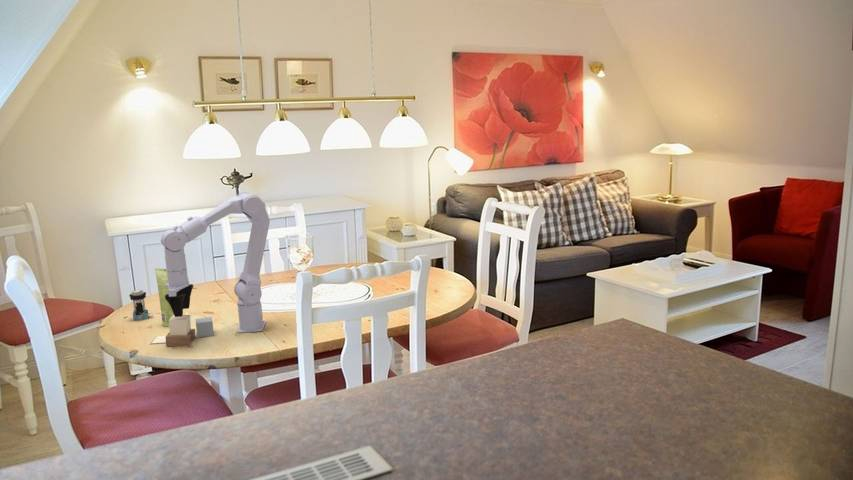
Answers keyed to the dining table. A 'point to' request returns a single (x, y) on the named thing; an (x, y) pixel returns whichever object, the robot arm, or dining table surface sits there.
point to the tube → (163, 296)
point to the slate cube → (204, 327)
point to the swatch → (159, 340)
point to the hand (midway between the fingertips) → (182, 312)
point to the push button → (139, 305)
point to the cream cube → (179, 325)
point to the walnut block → (180, 339)
